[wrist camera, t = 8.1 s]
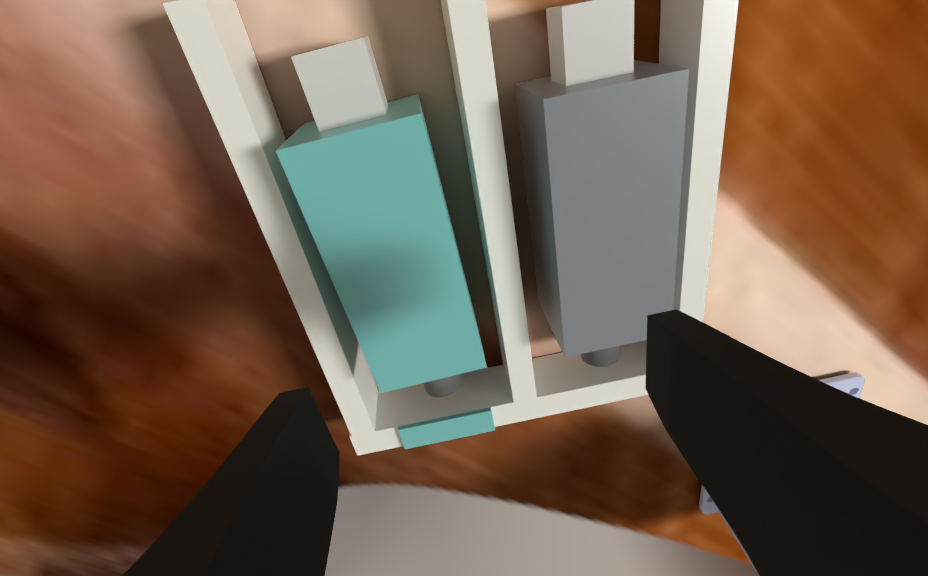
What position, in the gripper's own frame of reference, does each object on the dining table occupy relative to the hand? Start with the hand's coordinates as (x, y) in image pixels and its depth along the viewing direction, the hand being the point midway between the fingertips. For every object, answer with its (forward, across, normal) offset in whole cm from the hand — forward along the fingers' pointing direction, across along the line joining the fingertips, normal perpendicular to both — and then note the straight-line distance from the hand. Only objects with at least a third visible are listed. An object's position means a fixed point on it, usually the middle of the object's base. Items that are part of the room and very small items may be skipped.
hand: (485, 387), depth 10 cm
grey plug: (+10, -5, 0) cm, 11 cm away
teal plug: (+10, +2, 0) cm, 10 cm away
